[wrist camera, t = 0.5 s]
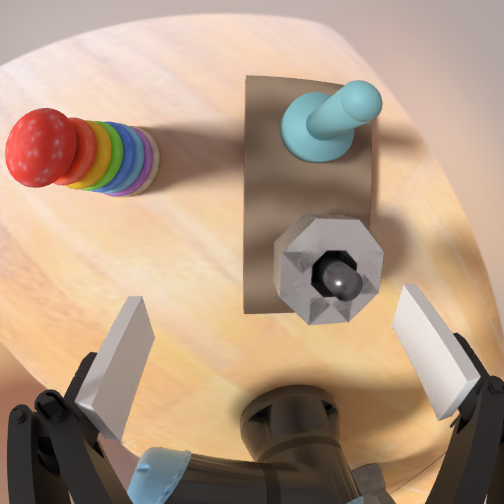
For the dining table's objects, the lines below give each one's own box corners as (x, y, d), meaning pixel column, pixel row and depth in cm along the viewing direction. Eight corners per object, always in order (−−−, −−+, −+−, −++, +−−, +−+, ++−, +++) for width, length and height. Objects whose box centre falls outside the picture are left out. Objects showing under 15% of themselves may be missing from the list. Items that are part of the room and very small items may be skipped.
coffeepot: (327, 482, 45) (348, 544, 27) (359, 459, 44) (388, 524, 26) (368, 486, 48) (390, 537, 30) (396, 465, 46) (425, 517, 29)
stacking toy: (141, 114, 28) (52, 49, 10) (174, 171, 30) (100, 153, 11) (88, 154, 28) (-28, 139, 10) (118, 210, 30) (9, 242, 12)
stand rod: (331, 276, 32) (375, 318, 21) (283, 277, 31) (308, 323, 20) (335, 226, 30) (385, 248, 20) (284, 226, 30) (314, 248, 19)
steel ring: (357, 303, 28) (374, 319, 24) (271, 307, 28) (278, 326, 24) (366, 215, 26) (386, 220, 22) (274, 212, 25) (282, 217, 22)
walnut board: (353, 302, 35) (360, 308, 33) (243, 306, 34) (244, 313, 32) (361, 94, 29) (368, 90, 27) (245, 81, 28) (246, 75, 26)
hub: (343, 165, 29) (416, 156, 16) (279, 161, 28) (318, 142, 15) (342, 104, 27) (409, 62, 14) (279, 97, 27) (314, 39, 14)
